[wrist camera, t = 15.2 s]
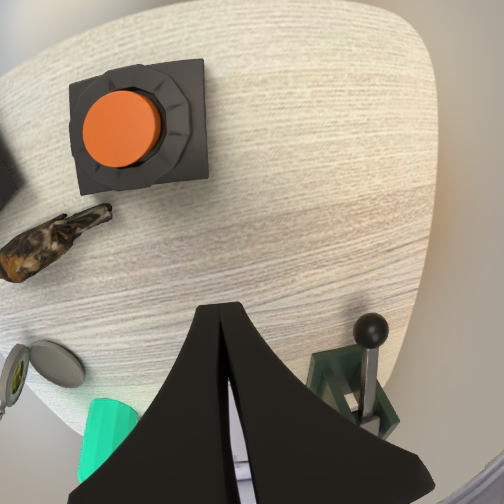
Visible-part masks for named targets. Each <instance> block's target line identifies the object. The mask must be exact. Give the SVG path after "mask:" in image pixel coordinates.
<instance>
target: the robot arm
mask: <svg viewBox="0 0 504 504" xmlns="http://www.w3.org/2000/svg"><path fill="white" fill-rule="evenodd" d="M228 377H229V381H228ZM434 488H435V483H434V481H433V479H432V477H431V475H430V473H429V471H428V470H427V468H426V467H425V465H424V464H423V462H422V461H421V460H420V458H419V457H418V455H416V454H414V453H411V452H409V451H407V450H404V449H402V448H400V447H398V446H395V445H393V444H391V443H389V442H387V441H385V440H383V439H381V438H379V437H378V436H376V435H374V434H372V433H370V432H369V431H367V430H365V429H364V428H362V427H360V426H358V425H357V424H355V423H354V422H352V421H351V420H350V419H348V418H347V417H345V416H344V415H342V414H341V413H339V412H338V411H336V410H335V409H334V408H332V407H331V406H329V405H328V404H327V403H326V402H324V401H323V400H322V399H321V398H319V397H318V396H317V395H316V394H315V393H313V392H312V391H311V390H310V389H309V388H308V387H307V386H306V385H304V384H303V383H302V382H301V381H300V380H299V379H298V378H297V377H296V376H295V375H294V374H293V373H292V372H291V371H290V370H289V369H288V368H287V367H286V366H285V365H284V363H283V362H282V361H281V360H280V359H279V358H278V357H277V356H276V354H275V353H274V352H273V351H272V350H271V348H270V347H269V346H268V344H267V343H266V342H265V340H264V339H263V338H262V337H261V335H260V334H259V332H258V331H257V330H256V328H255V327H254V325H253V323H252V322H251V320H250V319H249V317H248V315H247V313H246V312H245V310H244V307H243V305H242V304H241V303H240V302H239V301H237V302H228V303H219V304H209V305H199V306H198V307H197V308H196V311H195V315H194V318H193V321H192V324H191V327H190V330H189V332H188V335H187V337H186V339H185V342H184V344H183V346H182V348H181V351H180V353H179V355H178V357H177V359H176V361H175V363H174V365H173V367H172V369H171V371H170V373H169V375H168V376H167V378H166V380H165V382H164V384H163V385H162V387H161V389H160V390H159V392H158V394H157V395H156V397H155V398H154V400H153V401H152V403H151V405H150V406H149V408H148V409H147V410H146V412H145V413H144V415H143V416H142V417H141V419H140V420H139V422H138V423H137V424H136V426H135V427H134V428H133V430H132V431H131V432H130V433H129V435H128V436H127V437H126V438H125V439H124V441H123V442H122V443H121V444H120V445H119V446H118V447H117V448H116V450H115V451H114V452H113V453H112V454H111V455H110V456H109V457H108V458H107V460H106V461H105V462H104V463H103V464H102V465H101V466H100V467H99V468H98V469H97V470H96V471H95V472H93V473H92V474H91V475H90V476H89V477H88V478H87V479H86V480H85V481H84V482H82V483H81V484H80V485H79V486H78V487H77V488H76V489H74V490H73V491H72V492H71V493H70V494H69V498H68V503H67V504H410V503H412V502H414V501H416V500H417V499H419V498H421V497H423V496H424V495H426V494H428V493H429V492H431V491H432V490H433V489H434ZM437 504H504V450H503V451H501V452H500V453H499V454H498V455H497V456H496V457H495V458H494V459H493V460H491V461H490V462H489V463H488V464H487V465H486V466H485V469H484V470H482V471H481V472H480V473H479V474H478V475H476V476H475V477H474V478H472V479H471V480H470V481H469V482H467V483H466V484H465V485H463V486H462V487H461V488H459V489H458V490H456V491H455V492H453V493H452V494H451V495H449V496H448V497H446V498H445V499H443V500H442V501H440V502H438V503H437Z"/></svg>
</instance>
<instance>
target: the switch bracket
mask: <svg viewBox="0 0 504 504" xmlns="http://www.w3.org/2000/svg"><path fill="white" fill-rule="evenodd" d="M361 365H362V347H361V346H359V345H358V344H356V345H352V346H347V347H343V348H338V349H334V350H329V351H324V352H320V353H314V354H312V358H311V364H310V369H309V374H308V379H307V384H306V386H307V387H308V388H309V389H310V390H311V391H312V392H313V393H315V394H316V395H317V396H318V397H319V398H321V399H322V400H323V401H324V402H326V403H327V404H328V405H329V406H331V407H332V408H334V409H335V410H336V411H338V412H339V413H341V414H342V415H344V416H345V417H347V418H348V419H350V420H351V421H352V422H354V423H355V424H357V423H356V421H355V419H354V417H353V414H352V412H351V410H350V408H349V406H348V403H347V401H346V399H345V397H344V395H346V394H349V393H353V395H354V397H355V399H356V401H357V403H358V405H359V395H360V382H361ZM373 411H374V412H375V413H376V414H377V415H378V416H379V417H380V418H381V420H380V426H379V432H378V437H379V438H381V439H383V440H386V439H387V438H388V436H389V435H390V434H391V433H392V431H393V430H394V429H395V428H396V426H397V425H398V424H399V422H400V420H399V418H398V416H397V415H396V412H395V411H394V409H393V407H392V405H391V403H390V402H389V400H388V398H387V396H386V394H385V393H384V391H383V389H382V387H381V385H380V384H379V382H378V380H377V379H376V389H375V398H374V407H373Z"/></svg>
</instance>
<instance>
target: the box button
mask: <svg viewBox="0 0 504 504" xmlns="http://www.w3.org/2000/svg"><path fill="white" fill-rule="evenodd" d="M160 132H161V117H160V113H159V111H158V109H157V107H156V106H155V104H154V103H153V102H152V101H151V100H150V99H148V98H147V97H145V96H143V95H140V94H137V93H134V92H130V91H115V92H112V93H109V94H107V95H105V96H103V97H102V98H100V99H99V100H98V101H97V102H96V103H95V104H94V105H93V106H92V107H91V109H90V110H89V112H88V114H87V116H86V118H85V121H84V126H83V139H84V144H85V147H86V149H87V151H88V152H89V154H90V155H91V156H92V158H93V159H95V160H96V161H97V162H99V163H100V164H102V165H105V166H108V167H124V166H127V165H130V164H132V163H134V162H136V161H137V160H139V159H140V158H142V157H143V156H145V155H146V154H147V153H149V152H150V151H151V150H152V148H153V147H154V146H155V144H156V142H157V141H158V138H159V136H160Z"/></svg>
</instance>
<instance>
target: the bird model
mask: <svg viewBox="0 0 504 504" xmlns="http://www.w3.org/2000/svg"><path fill="white" fill-rule="evenodd" d="M111 211H112V206H111V205H110V204H108V203H103V204H100V205H97V206H95V207H92V208H89V209H87V210H84V211H82V212H79V213H76V214H74V215H73V216H71V217H68V218H65V217H66V216H67V214H64V213H63V214H61V215H60V216H58V217H56V218H54V219H52V220H50V221H48V222H46V223H43V224H41V225H39V226H37V227H34V228H32V229H30V230H28V231H26V232H24V233H22V234H20V235H18V236H16V237H15V238H13V239H12V240H11V241H10V242H9V243H8V244H7V245H5V246H4V247H3V248H2V249H1V250H0V279H4V280H6V281H8V282H12V283H21V282H23V281H25V280H26V279H28V278H29V277H31V276H34V275H35V274H36V273H38V272H39V271H40V270H42V269H43V268H45V267H47V266H48V265H49V264H51V263H52V262H54V261H56V260H57V259H58V258H60V257H61V255H63V254H65V253H66V252H67V251H68V250H69V249H70V248H71V247H72V245H73V241H74V240H75V239H76V238H77V237H79V236H80V235H81V234H82V232H83V231H84V230H87V229H90V228H92V227H94V226H96V225H99V224H101V223H104V222H108V221H109V220H111V219H112V213H110V212H111ZM64 218H65V219H64Z"/></svg>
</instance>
